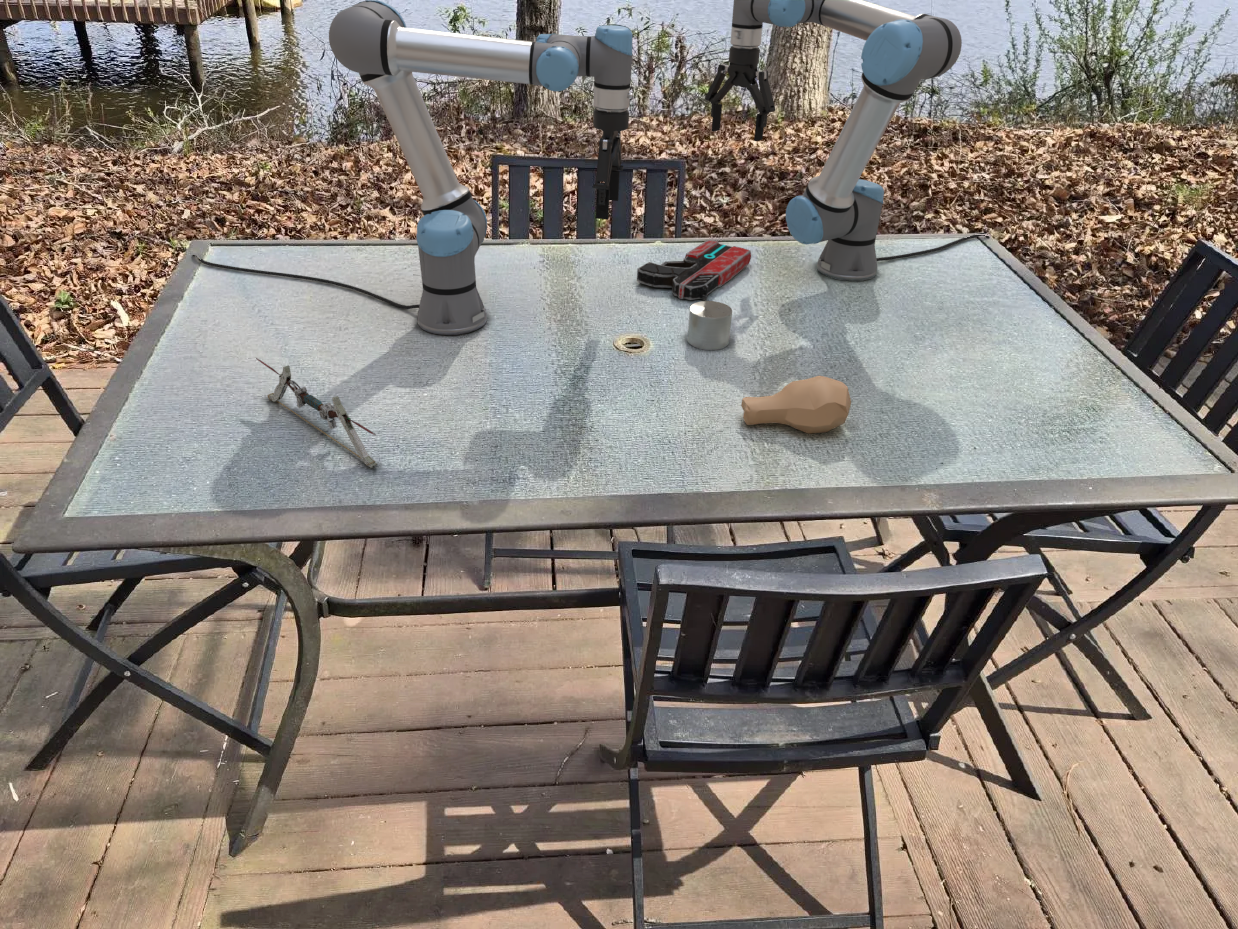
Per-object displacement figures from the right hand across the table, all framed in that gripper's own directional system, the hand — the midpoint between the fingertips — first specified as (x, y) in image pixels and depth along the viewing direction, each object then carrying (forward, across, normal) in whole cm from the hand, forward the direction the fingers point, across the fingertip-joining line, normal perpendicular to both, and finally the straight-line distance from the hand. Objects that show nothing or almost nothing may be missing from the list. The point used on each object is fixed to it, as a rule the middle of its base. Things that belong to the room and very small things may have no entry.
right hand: (736, 135), depth 229 cm
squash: (+29, +68, -71) cm, 102 cm away
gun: (+29, +10, -26) cm, 40 cm away
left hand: (+6, +5, -55) cm, 55 cm away
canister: (+29, +35, -54) cm, 70 cm away
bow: (+29, +8, -133) cm, 137 cm away
